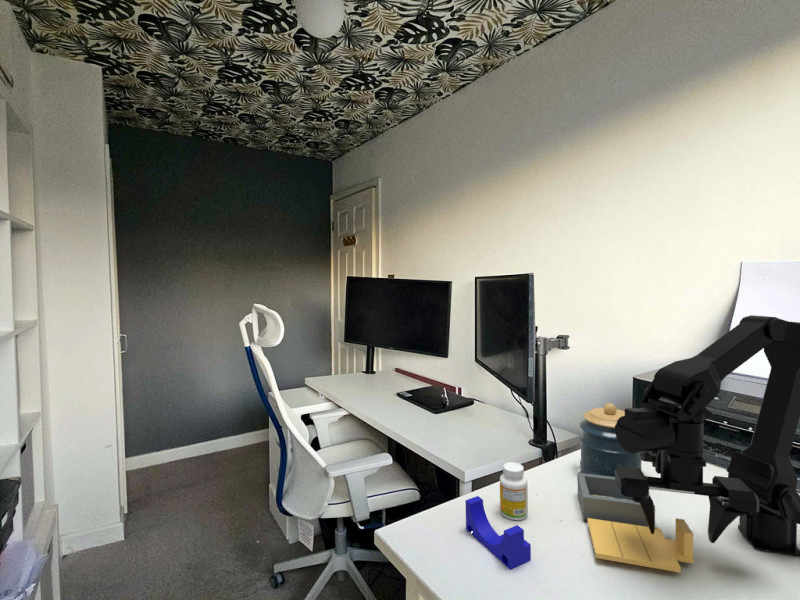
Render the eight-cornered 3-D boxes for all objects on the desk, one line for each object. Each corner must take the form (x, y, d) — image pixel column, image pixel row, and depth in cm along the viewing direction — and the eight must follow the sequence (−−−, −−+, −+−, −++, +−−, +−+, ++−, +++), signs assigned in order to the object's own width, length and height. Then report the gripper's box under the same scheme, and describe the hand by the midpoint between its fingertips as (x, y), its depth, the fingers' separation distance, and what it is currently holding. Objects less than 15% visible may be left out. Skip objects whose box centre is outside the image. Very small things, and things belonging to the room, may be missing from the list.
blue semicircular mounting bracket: (530, 561, 66) (530, 527, 66) (510, 571, 64) (510, 535, 64) (484, 523, 77) (484, 493, 77) (466, 530, 75) (465, 500, 75)
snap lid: (677, 541, 70) (677, 509, 70) (700, 582, 60) (700, 546, 60) (587, 527, 75) (587, 497, 74) (595, 563, 65) (595, 529, 65)
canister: (599, 459, 102) (599, 392, 101) (653, 480, 91) (653, 405, 90) (568, 473, 95) (568, 401, 94) (622, 498, 84) (622, 417, 83)
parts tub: (640, 503, 82) (640, 479, 82) (655, 532, 72) (655, 506, 72) (577, 495, 86) (577, 472, 85) (583, 522, 76) (583, 497, 76)
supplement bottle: (507, 502, 83) (506, 458, 83) (532, 511, 80) (531, 465, 80) (495, 514, 79) (494, 467, 79) (521, 524, 76) (520, 475, 75)
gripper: (726, 432, 69) (725, 517, 70) (608, 423, 75) (609, 502, 76) (762, 460, 59) (760, 560, 60) (621, 447, 65) (622, 538, 65)
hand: (680, 537), depth 65 cm, fingers open, 8 cm apart
